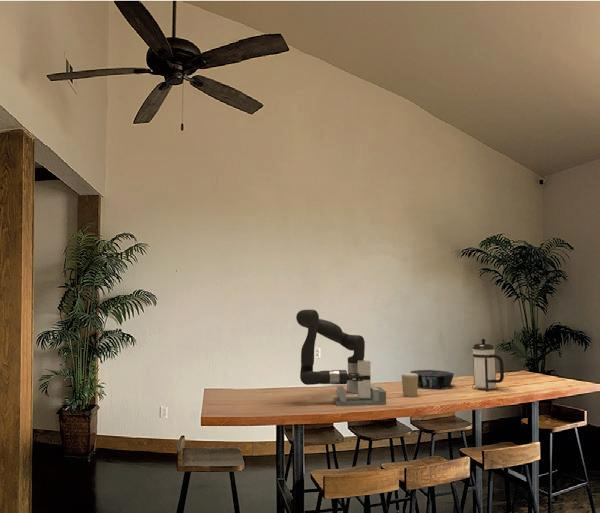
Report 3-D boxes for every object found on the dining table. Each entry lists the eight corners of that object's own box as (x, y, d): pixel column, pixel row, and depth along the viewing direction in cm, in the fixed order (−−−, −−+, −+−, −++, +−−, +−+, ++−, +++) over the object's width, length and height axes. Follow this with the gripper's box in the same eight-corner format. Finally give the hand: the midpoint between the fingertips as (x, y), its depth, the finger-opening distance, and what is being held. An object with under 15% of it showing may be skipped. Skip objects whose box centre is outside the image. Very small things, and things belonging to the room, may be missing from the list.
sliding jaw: (340, 401, 271) (340, 390, 271) (337, 397, 284) (336, 386, 284) (346, 401, 271) (345, 390, 271) (342, 396, 284) (342, 386, 284)
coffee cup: (419, 394, 297) (418, 373, 298) (418, 397, 288) (417, 375, 289) (402, 393, 300) (402, 372, 301) (401, 396, 291) (400, 375, 292)
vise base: (336, 405, 269) (336, 391, 270) (333, 399, 284) (332, 385, 285) (386, 404, 271) (386, 389, 272) (380, 398, 286) (379, 384, 287)
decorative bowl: (424, 394, 308) (424, 377, 308) (401, 383, 334) (401, 367, 334) (461, 391, 316) (461, 374, 316) (436, 380, 342) (436, 365, 342)
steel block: (359, 397, 276) (359, 361, 277) (358, 396, 280) (357, 360, 282) (370, 397, 276) (370, 361, 277) (369, 396, 281) (368, 360, 282)
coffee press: (473, 391, 304) (471, 339, 307) (470, 386, 320) (469, 337, 322) (504, 392, 300) (502, 340, 302) (500, 387, 316) (499, 337, 318)
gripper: (339, 372, 271) (371, 371, 272) (335, 368, 285) (366, 367, 286) (339, 386, 271) (372, 386, 272) (335, 382, 285) (366, 381, 286)
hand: (369, 376), depth 279 cm, fingers closed on steel block, 4 cm apart
